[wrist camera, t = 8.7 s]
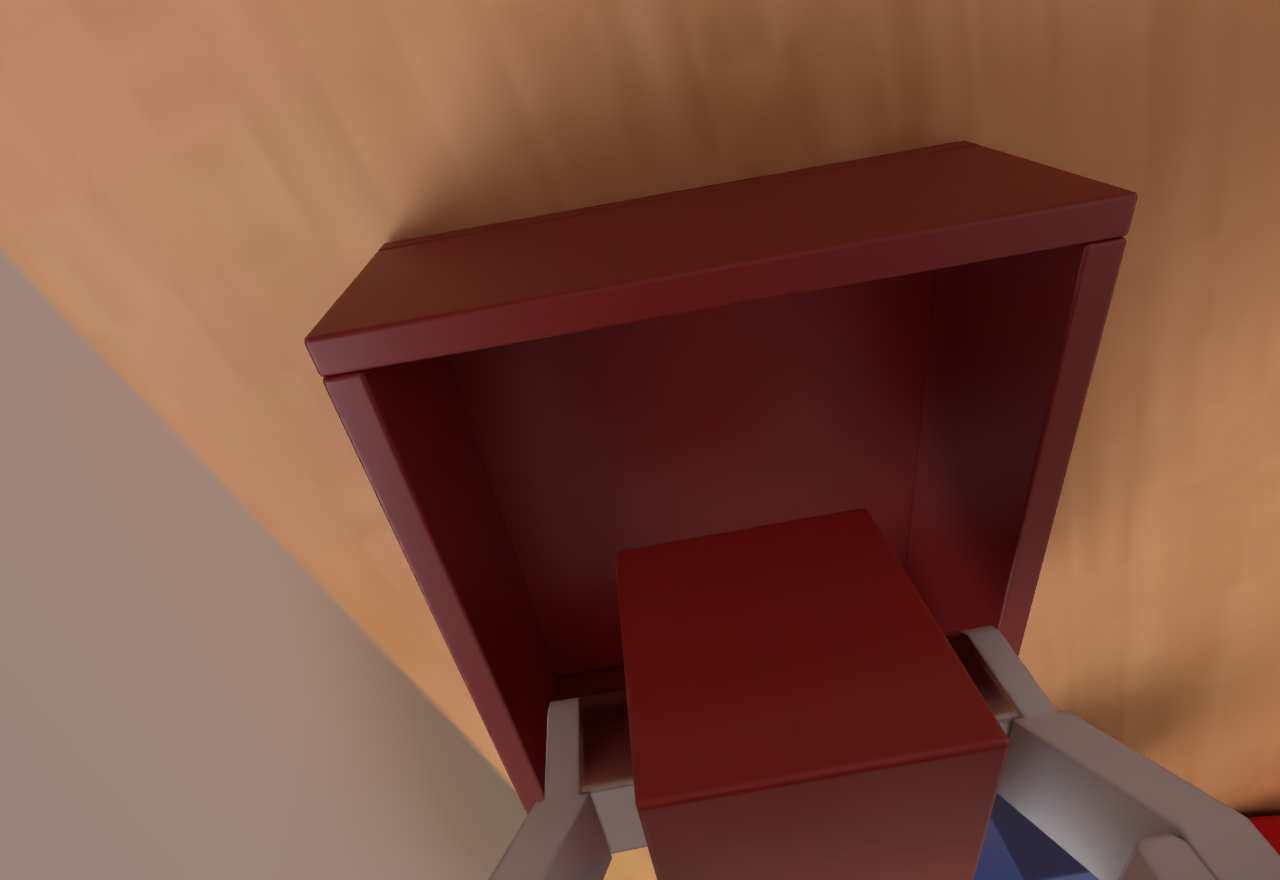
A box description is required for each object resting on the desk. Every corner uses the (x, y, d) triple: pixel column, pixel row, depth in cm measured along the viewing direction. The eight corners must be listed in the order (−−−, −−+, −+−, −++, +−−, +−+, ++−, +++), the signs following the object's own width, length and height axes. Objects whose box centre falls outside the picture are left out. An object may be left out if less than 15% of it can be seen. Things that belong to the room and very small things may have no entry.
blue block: (954, 748, 24) (1025, 882, 20) (1074, 728, 24) (1167, 858, 20) (941, 811, 26) (1002, 941, 22) (1050, 792, 26) (1129, 919, 22)
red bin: (383, 242, 12) (300, 339, 9) (967, 138, 12) (1142, 191, 9) (542, 678, 20) (535, 835, 16) (911, 615, 19) (992, 757, 16)
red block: (613, 549, 11) (634, 808, 7) (867, 504, 11) (1014, 742, 7) (650, 706, 14) (679, 960, 10) (859, 670, 14) (968, 911, 10)
